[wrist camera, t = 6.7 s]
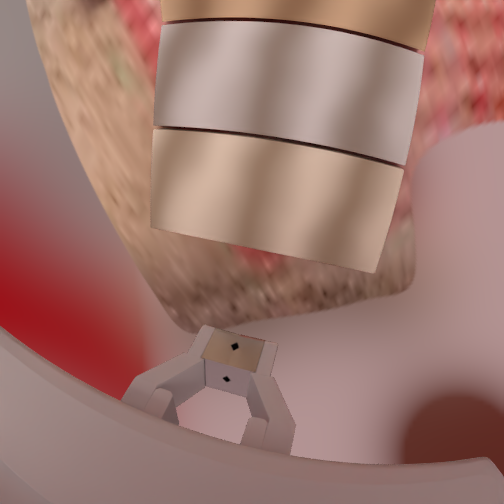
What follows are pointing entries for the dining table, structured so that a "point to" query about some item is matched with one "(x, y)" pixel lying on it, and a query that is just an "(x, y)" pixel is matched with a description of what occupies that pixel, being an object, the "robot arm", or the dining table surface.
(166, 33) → the grey plank
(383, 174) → the birch plank
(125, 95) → the dining table surface
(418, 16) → the oak plank
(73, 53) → the dining table surface
